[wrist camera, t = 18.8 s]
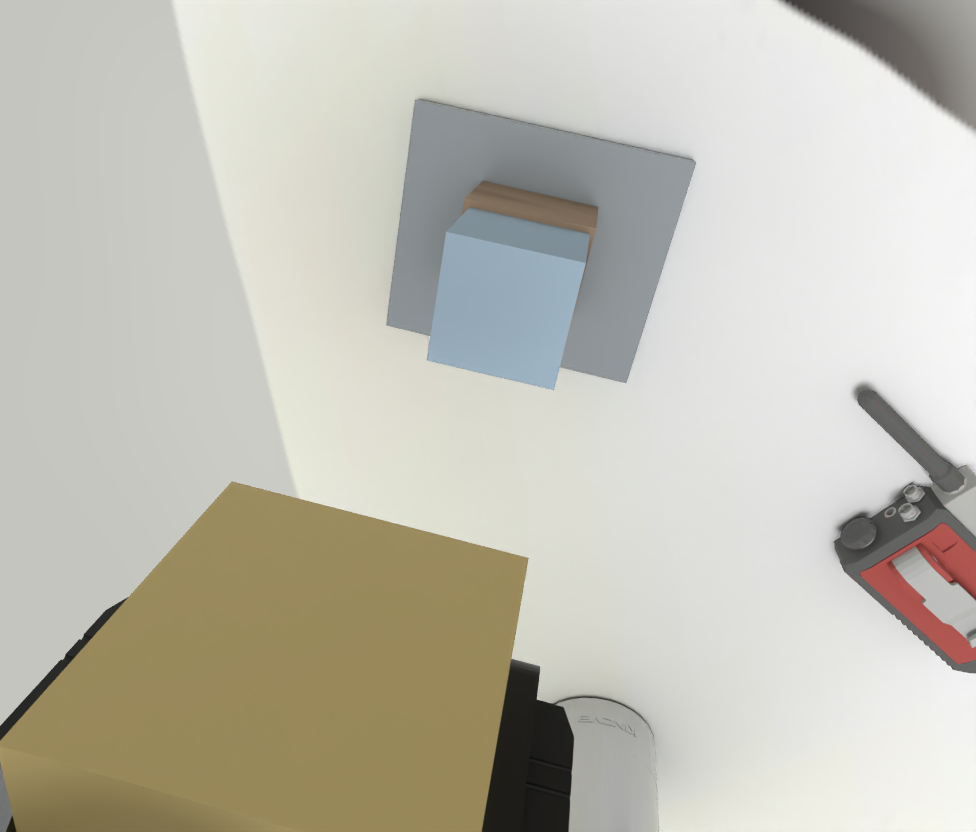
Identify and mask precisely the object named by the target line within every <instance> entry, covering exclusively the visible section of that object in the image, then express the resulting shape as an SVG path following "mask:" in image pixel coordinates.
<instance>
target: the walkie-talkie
mask: <svg viewBox="0 0 976 832" xmlns="http://www.w3.org/2000/svg"><path fill="white" fill-rule="evenodd" d="M857 401H858V403H859V405H860V406H861V407H862V408H863V409H864V410H865V411H866V412H867V413H868V414H869V415H870V416H871V417H872V418H873V419H874V420H875V421H876V422H877V423H878V424H879V425H880V426H881V427H882V428H883V429H884V430H885V431H887V432H888V433H889V434H890V435H891V436H892V437H893V438H894V439H895V440H896V441H897V442H898V443H899V444H900V445H901V446H902V447H903V448H904V449H905V450H906V451H907V452H908V453H909V454H910V455H911V456H912V457H913V458H914V459H915V460H916V461H917V462H918V463H919V464H920V465H921V466H922V467H923V468H924V469H925V470H927V471H928V472H929V473H930V474H929V477H930V478H931V480H932V481H933V482H934V483H935V484H934V485H933V486H931V487H923V486H920V487H917V486H916V485H909V486H907V487H906V488H905V489H904V491H903V494H904V495H905V497H903V498H901V499H900V500H898V501H897V502H895V503H894V504H892V505H890V506H889V507H887V508H886V509H884V510H883V511H881V512H879V513H878V514H876V515H875V516H873V517H872V518H870V519H869V518H868V519H866V518H865V517H862V518H857V519H854V520H852V521H850V522H849V523H848V524H847V525H846V526H845V527H844V529H843V530H842V533H841V537H840V538H839V539H837V540H836V541H834V542H835V550H836V552H837V554H838V557H839V559H840V563H841V565H842V567H843V569H844V571H845V572H846V573H847V574H848V575H849V576H850V577H851V578H852V579H853V580H855V581H856V582H857V583H858V584H859V585H860V586H861V587H862V588H864V589H865V590H866V591H867V592H868V593H869V594H870V595H871V596H872V597H873V598H874V599H875V600H877V601H878V602H879V603H880V604H881V605H882V606H883V607H884V608H886V609H887V610H888V611H889V612H890V613H891V614H892V615H895V616H896V618H897V619H898V620H901V622H902V624H903V625H906V626H907V628H908V629H909V630H912V632H913V634H914V635H917V636H918V638H919V639H920V640H923V642H924V643H925V645H927V646H929V647H930V649H931V650H932V651H935V653H936V655H937V656H940V657H941V659H942V660H943V661H946V663H947V665H948V666H951V667H952V669H953V670H957V671H962V672H967V673H976V475H975V474H974V473H973V472H972V471H971V470H970V469H969V468H968V467H967V466H963V467H961V468H960V469H958V470H957V469H956V468H955V467H954V466H953V465H952V464H951V463H948V462H945V461H944V460H943V459H942V458H941V457H940V456H939V455H938V454H937V453H936V452H935V451H934V450H933V449H932V448H931V447H930V446H929V445H928V444H927V443H926V442H925V441H924V440H923V439H922V438H921V437H920V436H919V435H918V434H917V433H916V432H915V431H914V430H913V429H912V428H911V427H910V426H909V425H908V424H907V423H906V422H905V421H904V420H903V419H902V418H901V417H900V416H899V415H898V414H897V413H896V412H895V411H894V410H893V409H892V408H891V407H890V406H889V405H888V404H887V403H886V402H885V401H884V400H883V399H882V398H881V397H880V396H879V395H878V394H877V393H876V392H874V391H863V392H862V393H860V395H859V397H858V400H857Z"/></svg>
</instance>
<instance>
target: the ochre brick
mask: <svg viewBox="0 0 976 832" xmlns="http://www.w3.org/2000/svg"><path fill="white" fill-rule="evenodd" d="M527 564H528V558H526V557H523V556H519V555H515V554H511V553H507V552H503V551H499V550H495V549H492V548H488V547H484V546H480V545H476V544H472V543H468V542H464V541H461V540H457V539H453V538H449V537H445V536H441V535H437V534H433V533H430V532H426V531H422V530H418V529H414V528H410V527H406V526H402V525H398V524H395V523H391V522H387V521H383V520H379V519H375V518H371V517H367V516H364V515H360V514H356V513H352V512H348V511H344V510H340V509H336V508H333V507H329V506H325V505H321V504H317V503H313V502H309V501H305V500H302V499H298V498H293V497H290V496H286V495H282V494H278V493H274V492H271V491H267V490H263V489H259V488H255V487H251V486H247V485H243V484H240V483H236V482H231V483H230V484H229V486H228V487H227V488H226V489H225V490H224V491H223V492H222V493H221V494H220V495H219V497H218V498H217V499H216V500H215V501H214V502H213V503H212V504H211V506H210V507H209V508H208V509H207V510H206V511H205V512H204V513H203V514H202V516H201V517H200V518H199V519H198V520H197V521H196V523H195V524H194V525H193V526H192V527H191V528H190V529H189V530H188V531H187V532H186V534H185V535H184V536H183V537H182V538H181V539H180V540H179V541H178V543H177V544H176V545H175V546H174V547H173V548H172V549H171V550H170V552H169V553H168V554H167V555H166V556H165V557H164V558H163V559H162V561H161V562H160V563H159V564H158V565H157V566H156V567H155V568H154V569H153V570H152V572H151V573H150V574H149V575H148V576H147V577H146V578H145V579H144V581H143V582H142V583H141V584H140V585H139V586H138V587H137V589H135V591H134V592H133V593H132V594H131V595H130V596H129V597H128V598H127V600H126V601H125V602H124V603H123V604H122V605H121V606H120V607H119V608H118V610H117V611H116V612H115V613H114V614H113V615H112V616H111V617H110V619H109V620H108V621H107V622H106V623H105V624H104V625H103V626H102V628H101V629H100V630H99V631H98V632H97V633H96V634H95V635H94V636H93V638H92V639H91V640H90V641H89V642H88V643H87V644H86V645H85V647H84V648H83V649H82V650H81V651H80V652H79V653H78V654H77V656H76V657H75V658H74V659H73V660H72V661H71V662H70V663H69V664H68V666H67V667H66V668H65V669H64V670H63V671H62V672H61V673H60V675H59V676H58V677H57V678H56V679H55V680H54V681H53V682H52V683H51V685H50V686H49V687H48V688H47V689H46V690H45V691H44V692H43V694H42V695H41V696H40V697H39V698H38V699H37V700H36V701H35V703H34V704H33V705H32V706H31V707H30V708H29V709H28V710H27V711H26V713H25V714H24V715H23V716H22V717H21V718H20V719H19V720H18V722H17V723H16V724H15V725H14V726H13V727H12V728H11V729H10V730H9V732H8V733H7V734H6V735H5V736H4V737H3V738H2V739H1V741H0V763H1V767H2V771H3V776H4V780H5V784H6V789H7V793H8V797H9V802H10V806H11V810H12V815H13V819H14V823H15V828H16V832H482V826H483V820H484V814H485V808H486V803H487V797H488V791H489V785H490V779H491V773H492V768H493V762H494V756H495V750H496V744H497V739H498V733H499V727H500V721H501V715H502V709H503V704H504V698H505V692H506V686H507V680H508V674H509V669H510V663H511V657H512V651H513V645H514V640H515V634H516V628H517V622H518V616H519V610H520V605H521V599H522V593H523V587H524V581H525V575H526V570H527Z"/></svg>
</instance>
